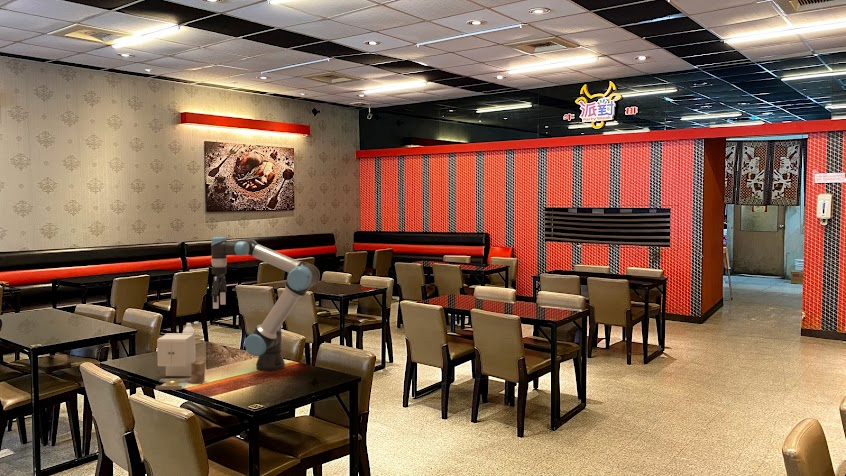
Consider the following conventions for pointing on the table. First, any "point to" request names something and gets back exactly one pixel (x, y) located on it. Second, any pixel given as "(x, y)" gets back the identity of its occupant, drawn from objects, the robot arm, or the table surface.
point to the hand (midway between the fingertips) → (219, 306)
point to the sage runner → (164, 387)
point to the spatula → (194, 374)
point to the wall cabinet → (176, 353)
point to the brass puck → (172, 382)
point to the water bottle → (190, 330)
